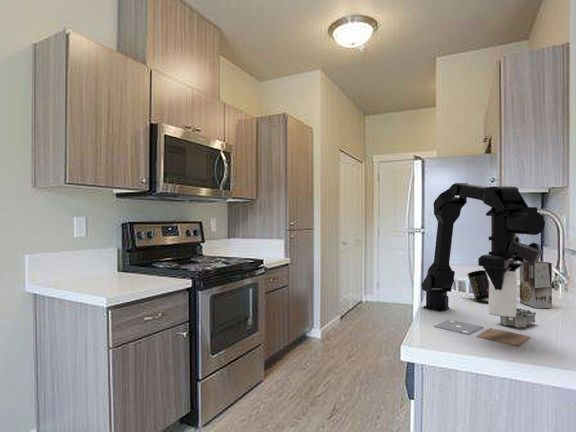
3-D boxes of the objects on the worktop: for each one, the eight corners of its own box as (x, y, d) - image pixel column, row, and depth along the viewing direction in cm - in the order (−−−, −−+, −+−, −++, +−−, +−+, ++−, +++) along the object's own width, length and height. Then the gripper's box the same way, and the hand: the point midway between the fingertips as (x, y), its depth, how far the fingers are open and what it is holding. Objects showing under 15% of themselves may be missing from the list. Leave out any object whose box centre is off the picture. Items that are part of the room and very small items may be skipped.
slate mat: (433, 327, 108) (433, 325, 108) (449, 321, 115) (449, 319, 115) (468, 336, 101) (468, 333, 101) (483, 328, 107) (483, 326, 107)
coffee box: (552, 308, 131) (552, 262, 131) (534, 308, 131) (534, 262, 131) (536, 302, 140) (536, 259, 140) (519, 302, 140) (518, 259, 140)
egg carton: (522, 329, 105) (521, 314, 105) (496, 324, 111) (494, 310, 111) (540, 321, 110) (538, 307, 111) (513, 317, 117) (512, 304, 117)
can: (508, 314, 101) (509, 271, 102) (521, 318, 94) (522, 272, 96) (483, 312, 101) (485, 268, 103) (495, 316, 95) (496, 269, 96)
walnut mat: (476, 338, 99) (476, 335, 99) (490, 330, 106) (490, 328, 106) (518, 347, 92) (518, 345, 92) (530, 338, 98) (530, 336, 98)
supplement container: (489, 296, 136) (480, 269, 140) (472, 300, 140) (464, 274, 144) (497, 297, 139) (489, 270, 144) (480, 301, 144) (472, 275, 148)
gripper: (527, 235, 87) (527, 301, 87) (548, 232, 99) (548, 290, 99) (477, 233, 95) (477, 294, 95) (503, 231, 107) (503, 284, 107)
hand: (503, 290), depth 99 cm, fingers closed on can, 6 cm apart
